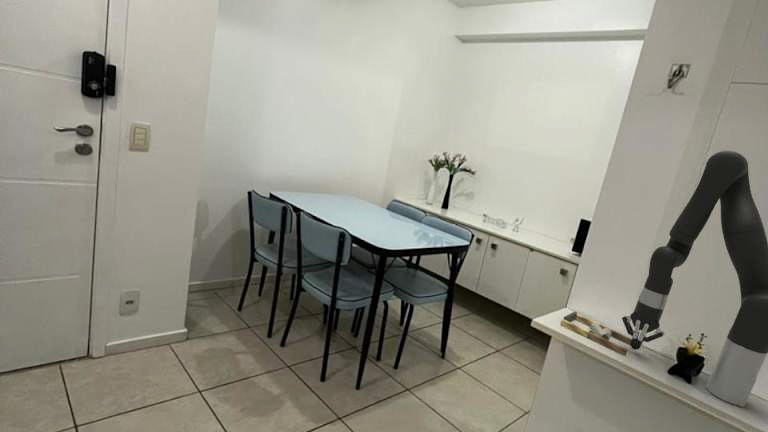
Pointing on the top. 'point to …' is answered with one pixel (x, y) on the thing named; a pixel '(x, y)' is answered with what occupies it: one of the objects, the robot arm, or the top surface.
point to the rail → (574, 316)
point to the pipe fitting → (600, 331)
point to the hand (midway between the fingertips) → (634, 348)
